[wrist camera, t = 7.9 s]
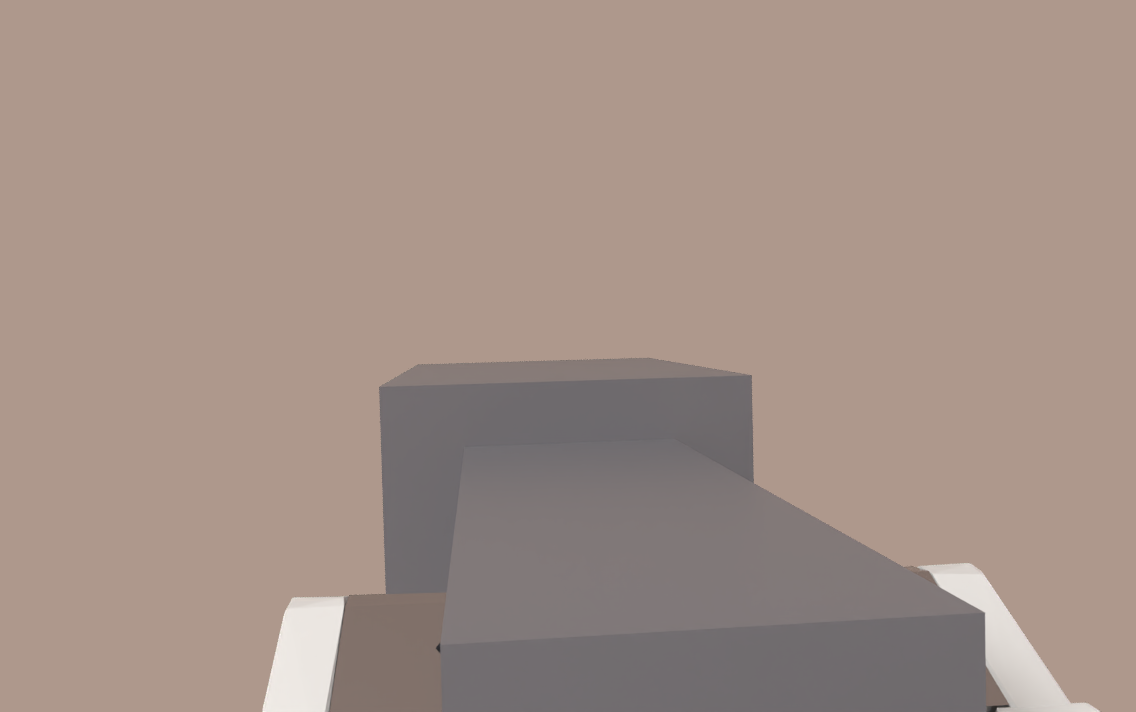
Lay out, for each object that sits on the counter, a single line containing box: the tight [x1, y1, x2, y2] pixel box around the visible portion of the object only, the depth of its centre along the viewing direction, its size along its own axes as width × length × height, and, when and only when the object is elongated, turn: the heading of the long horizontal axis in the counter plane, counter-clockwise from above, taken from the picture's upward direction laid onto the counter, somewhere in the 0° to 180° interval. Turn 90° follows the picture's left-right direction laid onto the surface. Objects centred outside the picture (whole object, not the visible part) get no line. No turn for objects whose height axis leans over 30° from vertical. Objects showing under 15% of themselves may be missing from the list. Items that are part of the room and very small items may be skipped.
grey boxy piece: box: [379, 358, 986, 712], centre depth 15 cm, size 20×6×4 cm, turn 6°
